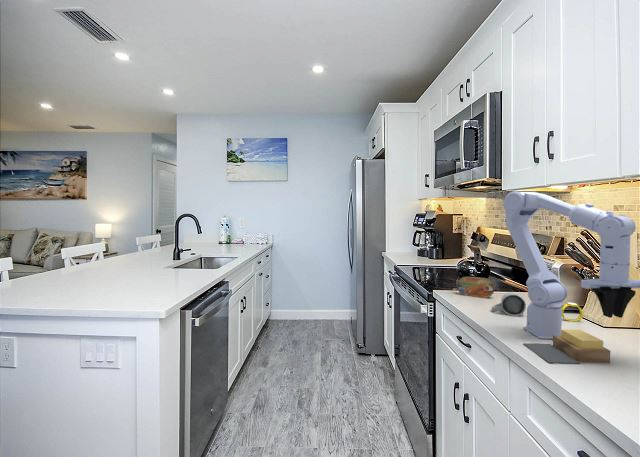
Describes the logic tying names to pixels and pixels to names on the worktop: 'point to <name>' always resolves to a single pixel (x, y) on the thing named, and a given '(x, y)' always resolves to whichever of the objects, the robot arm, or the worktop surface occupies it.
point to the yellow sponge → (582, 339)
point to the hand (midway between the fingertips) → (612, 316)
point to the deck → (581, 351)
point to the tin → (475, 287)
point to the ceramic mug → (511, 304)
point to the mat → (550, 353)
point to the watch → (573, 306)
